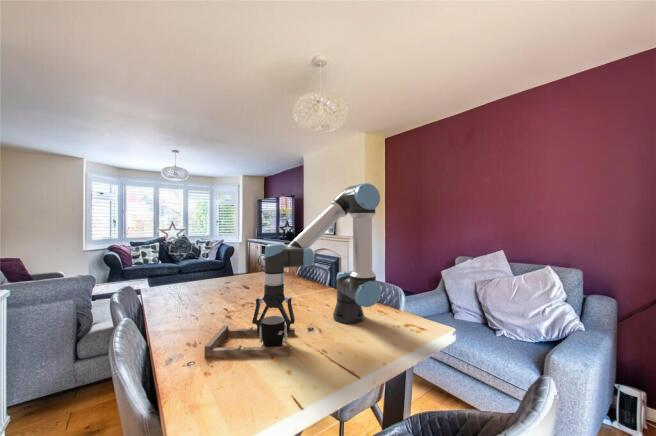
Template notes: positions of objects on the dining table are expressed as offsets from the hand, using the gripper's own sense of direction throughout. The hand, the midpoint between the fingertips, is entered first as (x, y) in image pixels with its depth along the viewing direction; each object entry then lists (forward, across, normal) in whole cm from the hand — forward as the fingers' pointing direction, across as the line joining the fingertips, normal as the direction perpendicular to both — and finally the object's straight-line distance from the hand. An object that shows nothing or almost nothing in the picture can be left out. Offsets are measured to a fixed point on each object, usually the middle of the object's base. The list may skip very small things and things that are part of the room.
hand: (273, 341), depth 105 cm
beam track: (+1, +8, 0) cm, 8 cm away
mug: (+1, 0, 0) cm, 1 cm away
